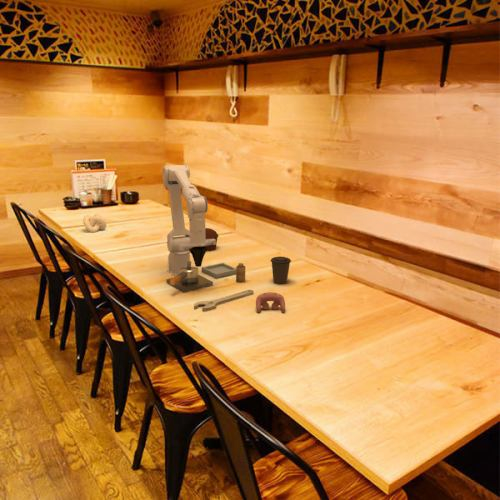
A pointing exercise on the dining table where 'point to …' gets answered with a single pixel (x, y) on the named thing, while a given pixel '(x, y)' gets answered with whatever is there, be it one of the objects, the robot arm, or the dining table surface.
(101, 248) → the dining table surface
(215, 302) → the adjustable wrench
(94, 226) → the pretzel
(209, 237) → the muffin
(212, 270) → the tray
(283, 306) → the video game controller
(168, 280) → the chuck base
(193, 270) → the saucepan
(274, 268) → the coffee cup
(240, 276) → the orange bottle
